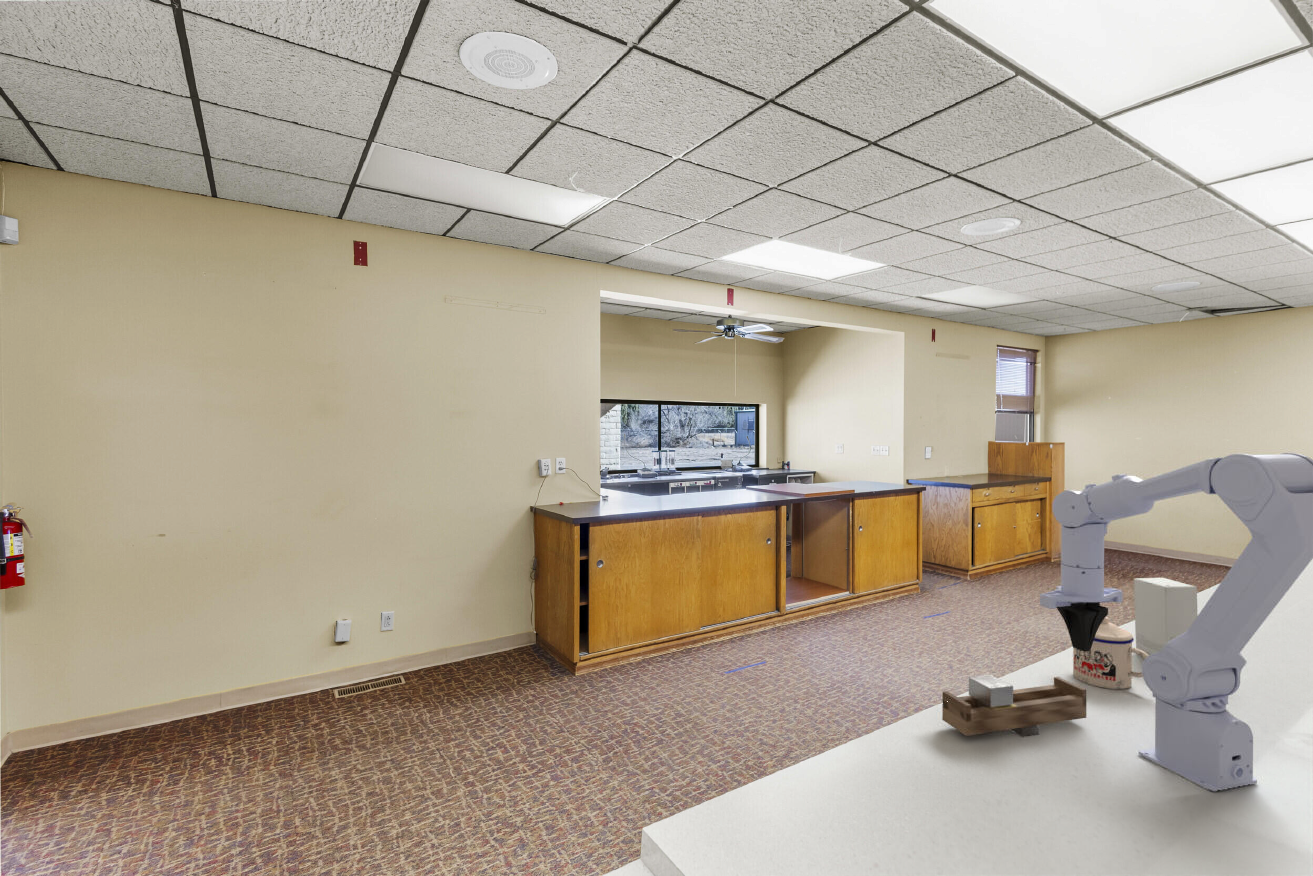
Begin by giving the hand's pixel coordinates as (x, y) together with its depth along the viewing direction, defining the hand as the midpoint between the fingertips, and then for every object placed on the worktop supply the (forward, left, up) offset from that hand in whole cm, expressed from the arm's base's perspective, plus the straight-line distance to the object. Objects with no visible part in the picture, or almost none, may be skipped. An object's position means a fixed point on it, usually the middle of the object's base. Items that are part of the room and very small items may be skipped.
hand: (1081, 649), depth 98 cm
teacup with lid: (+8, -16, -11) cm, 21 cm away
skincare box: (+14, -37, -11) cm, 41 cm away
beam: (-1, +14, -10) cm, 17 cm away
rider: (-1, +19, -7) cm, 20 cm away
